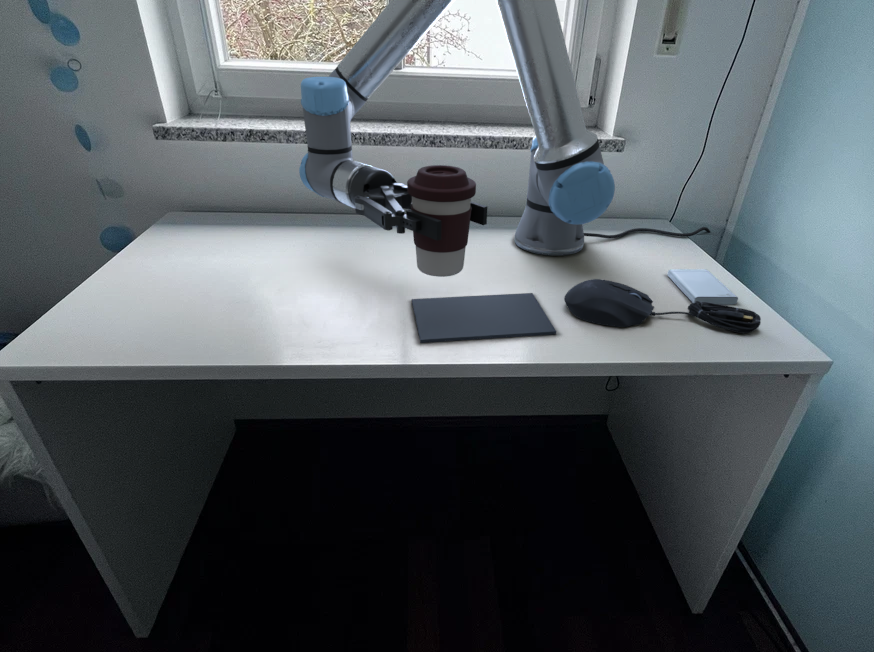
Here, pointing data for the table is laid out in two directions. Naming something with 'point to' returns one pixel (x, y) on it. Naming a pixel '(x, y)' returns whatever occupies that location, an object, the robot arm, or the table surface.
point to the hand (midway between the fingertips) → (463, 223)
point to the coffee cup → (442, 217)
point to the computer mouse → (645, 307)
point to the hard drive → (702, 286)
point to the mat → (480, 317)
